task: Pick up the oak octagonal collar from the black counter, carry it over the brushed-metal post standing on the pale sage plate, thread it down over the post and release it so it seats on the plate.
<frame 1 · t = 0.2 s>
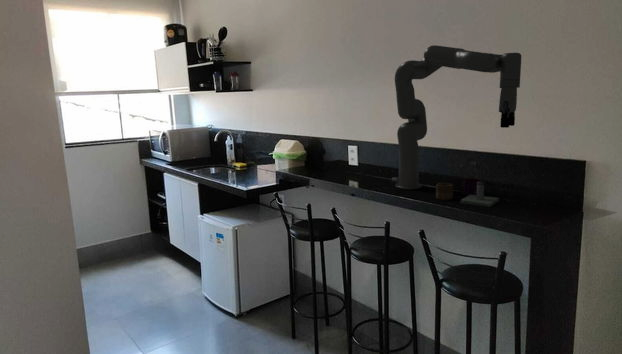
hand: (507, 126, 182), 31 cm above the worktop, fingers open, 9 cm apart
post block: (479, 201, 184), on the worktop
collar: (444, 197, 192), on the worktop
mug: (468, 194, 198), on the worktop
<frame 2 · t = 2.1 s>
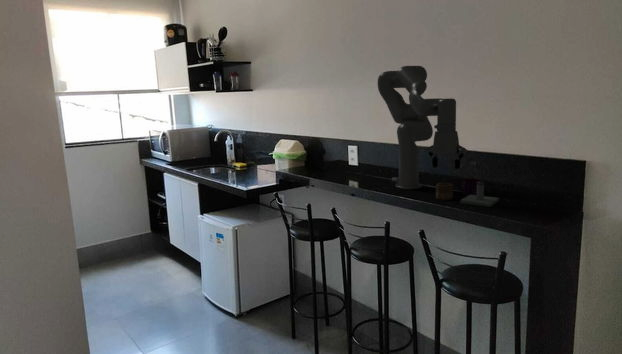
hand: (446, 167, 189), 13 cm above the worktop, fingers open, 9 cm apart
nothing on the worktop moved.
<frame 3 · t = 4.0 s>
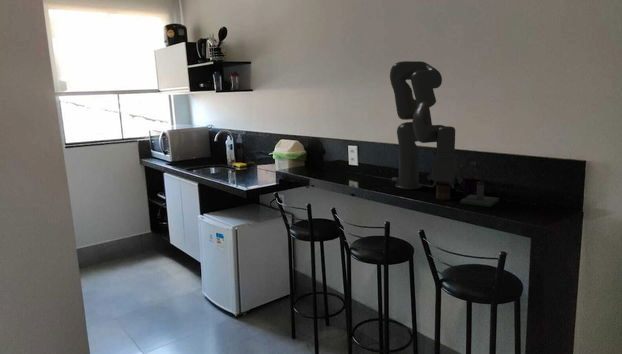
hand: (444, 195, 192), 1 cm above the worktop, fingers closed on collar, 6 cm apart
collar: (444, 197, 192), on the worktop, touching gripper
everything else where it was.
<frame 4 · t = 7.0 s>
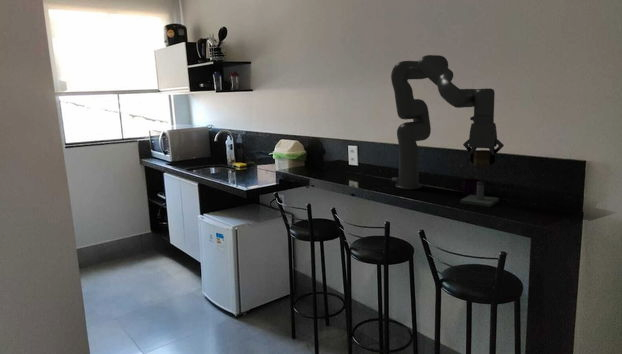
hand: (482, 163, 180), 16 cm above the worktop, fingers closed on collar, 6 cm apart
collar: (482, 165, 180), point 15 cm above the worktop, touching gripper
everything else where it was.
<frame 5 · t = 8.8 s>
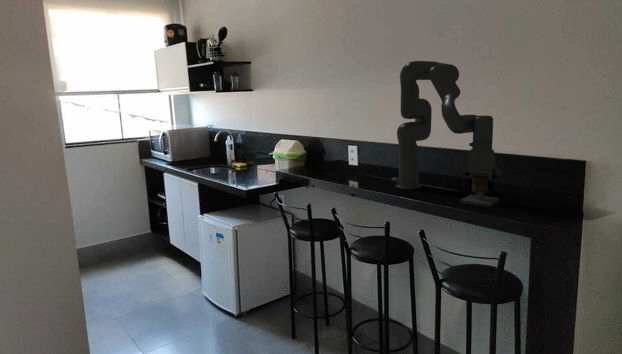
hand: (480, 188, 183), 6 cm above the worktop, fingers closed on collar, 6 cm apart
collar: (480, 190, 183), point 5 cm above the worktop, touching gripper
everything else where it was.
when the fingers open (4 cm above the worktop, at t = 10.1 s): collar drops 2 cm, resting on post block.
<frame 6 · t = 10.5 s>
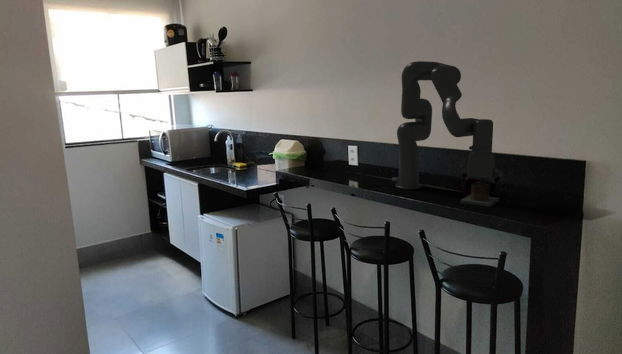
hand: (480, 190, 183), 5 cm above the worktop, fingers open, 9 cm apart
collar: (479, 199, 184), point 1 cm above the worktop, touching post block
everything else where it was.
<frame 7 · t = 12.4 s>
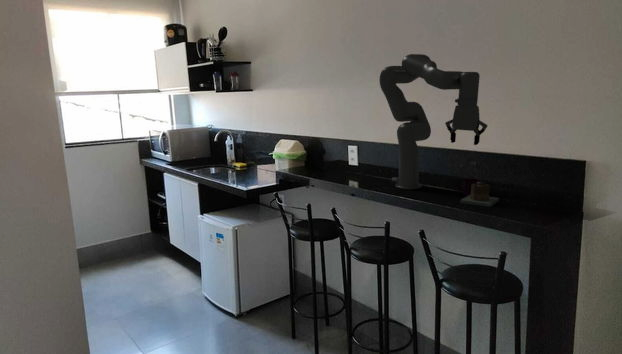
hand: (464, 143, 185), 24 cm above the worktop, fingers open, 9 cm apart
nothing on the worktop moved.
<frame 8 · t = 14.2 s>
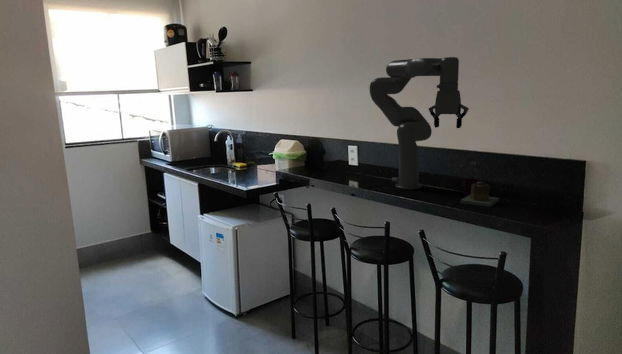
hand: (447, 127, 190), 30 cm above the worktop, fingers open, 9 cm apart
nothing on the worktop moved.
at the end: collar 0.1 cm off-centre on the post block, point 1.2 cm above the post block's base; collar tilted 0°; the gripper is holding nothing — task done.
